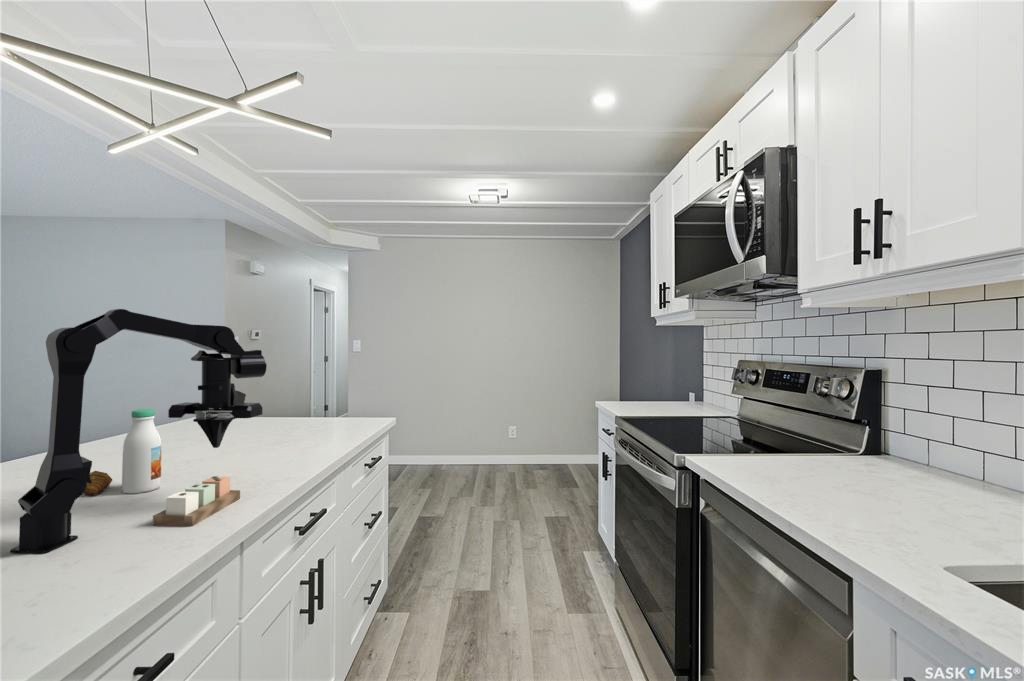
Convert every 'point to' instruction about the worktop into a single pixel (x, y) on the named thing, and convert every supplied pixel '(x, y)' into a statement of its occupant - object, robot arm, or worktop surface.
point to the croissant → (97, 483)
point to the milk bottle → (141, 454)
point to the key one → (182, 503)
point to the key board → (196, 512)
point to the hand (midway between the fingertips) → (216, 447)
